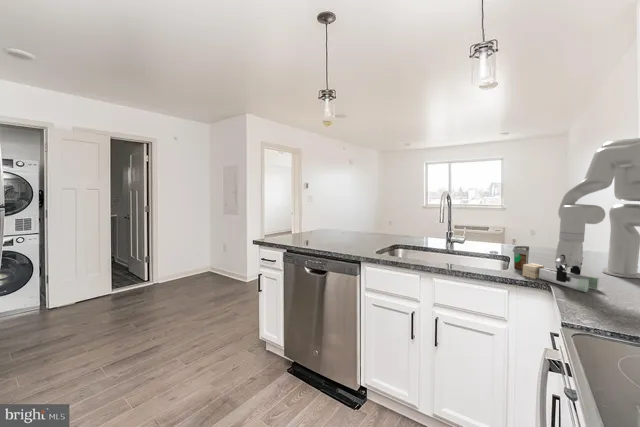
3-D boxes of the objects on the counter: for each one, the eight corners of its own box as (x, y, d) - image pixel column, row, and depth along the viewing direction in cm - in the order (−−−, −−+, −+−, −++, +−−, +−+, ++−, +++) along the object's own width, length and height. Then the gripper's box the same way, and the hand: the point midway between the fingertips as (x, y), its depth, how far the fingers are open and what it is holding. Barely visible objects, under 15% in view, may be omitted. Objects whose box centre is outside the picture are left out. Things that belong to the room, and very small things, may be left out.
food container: (513, 264, 153) (514, 244, 152) (528, 266, 149) (529, 246, 148) (509, 269, 143) (510, 248, 142) (525, 271, 139) (526, 250, 139)
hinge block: (531, 274, 136) (532, 263, 135) (543, 277, 131) (544, 265, 131) (522, 275, 133) (523, 264, 132) (534, 278, 128) (535, 267, 128)
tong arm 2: (542, 277, 129) (543, 268, 128) (544, 277, 130) (544, 267, 129) (596, 289, 114) (597, 278, 114) (598, 288, 115) (599, 277, 115)
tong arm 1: (538, 278, 128) (539, 268, 128) (541, 277, 128) (542, 268, 128) (584, 292, 111) (585, 280, 111) (587, 291, 112) (588, 280, 111)
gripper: (572, 234, 126) (569, 274, 127) (547, 236, 118) (544, 280, 120) (594, 237, 119) (591, 279, 120) (570, 240, 112) (566, 285, 113)
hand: (568, 279), depth 120 cm, fingers open, 9 cm apart
